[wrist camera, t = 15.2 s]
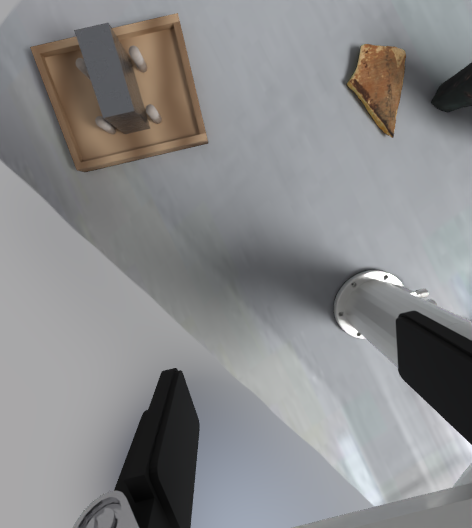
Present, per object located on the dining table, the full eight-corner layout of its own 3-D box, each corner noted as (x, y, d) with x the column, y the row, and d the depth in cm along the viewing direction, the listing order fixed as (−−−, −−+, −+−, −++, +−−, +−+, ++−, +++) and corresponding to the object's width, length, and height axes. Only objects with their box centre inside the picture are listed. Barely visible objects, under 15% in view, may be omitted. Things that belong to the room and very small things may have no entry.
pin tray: (180, 25, 30) (174, -3, 26) (208, 143, 33) (206, 134, 29) (42, 57, 29) (14, 33, 25) (85, 172, 33) (66, 167, 29)
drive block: (130, 59, 29) (108, 22, 23) (150, 128, 31) (134, 110, 25) (103, 65, 29) (74, 30, 23) (125, 134, 31) (103, 118, 25)
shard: (386, 140, 35) (395, 136, 33) (337, 137, 35) (344, 134, 33) (400, 55, 33) (411, 46, 31) (348, 50, 32) (355, 42, 30)
